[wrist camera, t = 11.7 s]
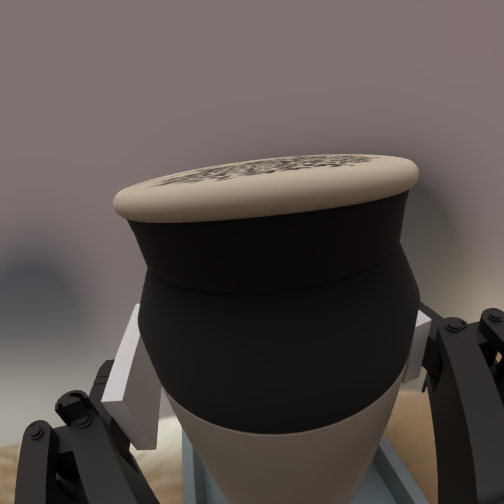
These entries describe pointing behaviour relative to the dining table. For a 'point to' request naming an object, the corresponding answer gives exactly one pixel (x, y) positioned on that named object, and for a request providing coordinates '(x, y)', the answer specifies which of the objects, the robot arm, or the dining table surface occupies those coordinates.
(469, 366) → the robot arm
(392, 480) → the tray
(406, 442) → the dining table surface
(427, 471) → the dining table surface
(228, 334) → the travel mug
